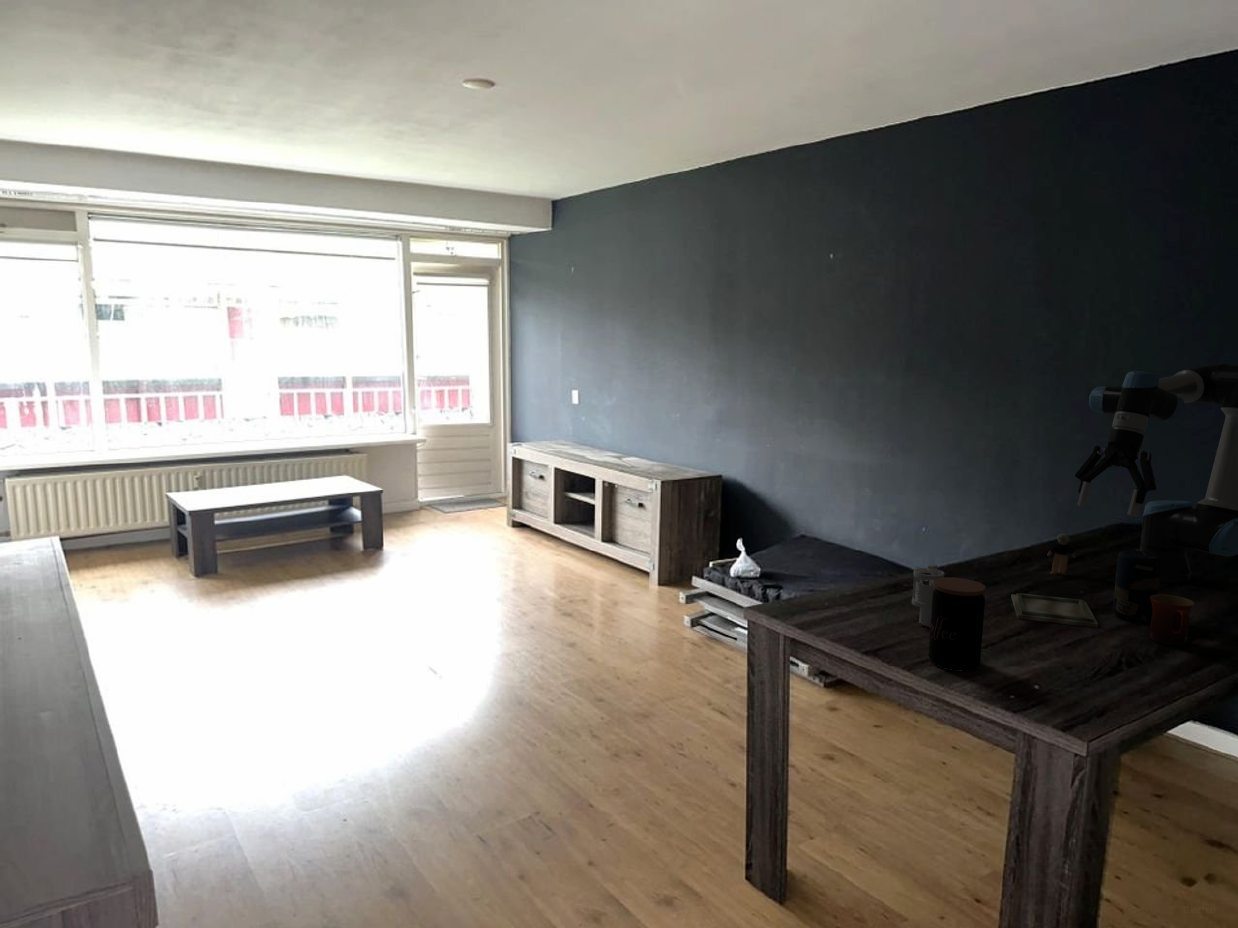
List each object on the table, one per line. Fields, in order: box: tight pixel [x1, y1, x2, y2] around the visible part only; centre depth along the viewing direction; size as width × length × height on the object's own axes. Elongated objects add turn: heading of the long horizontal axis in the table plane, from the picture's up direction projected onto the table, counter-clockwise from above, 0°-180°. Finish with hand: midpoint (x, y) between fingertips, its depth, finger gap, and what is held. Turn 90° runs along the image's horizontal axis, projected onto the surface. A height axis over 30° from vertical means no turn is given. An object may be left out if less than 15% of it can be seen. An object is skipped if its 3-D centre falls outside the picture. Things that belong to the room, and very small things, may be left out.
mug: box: [1149, 593, 1196, 647], centre depth 191 cm, size 12×9×10 cm
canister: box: [1112, 548, 1162, 622], centre depth 208 cm, size 10×10×18 cm
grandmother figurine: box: [1046, 532, 1077, 576], centre depth 247 cm, size 8×4×13 cm, turn 83°
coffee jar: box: [927, 576, 987, 672], centre depth 179 cm, size 11×11×18 cm
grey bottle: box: [911, 564, 945, 626], centre depth 202 cm, size 7×7×15 cm
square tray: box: [1011, 592, 1099, 629], centre depth 214 cm, size 18×18×2 cm
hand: (1105, 511), depth 211 cm, fingers open, 13 cm apart
